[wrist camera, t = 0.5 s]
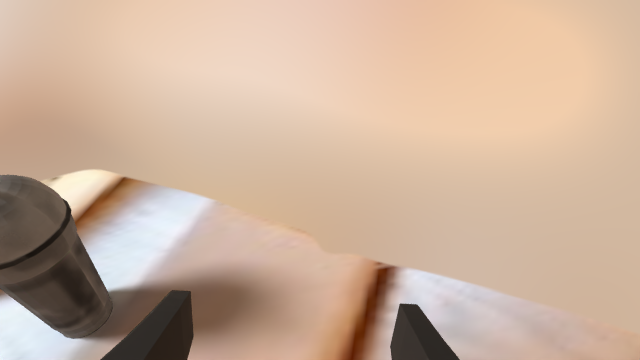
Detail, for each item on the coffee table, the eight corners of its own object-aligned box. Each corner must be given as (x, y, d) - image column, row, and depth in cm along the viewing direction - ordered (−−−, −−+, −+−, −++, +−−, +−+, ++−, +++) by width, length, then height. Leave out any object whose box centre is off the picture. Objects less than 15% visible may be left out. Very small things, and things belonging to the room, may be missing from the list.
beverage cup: (105, 267, 39) (-16, 87, 26) (143, 309, 35) (23, 122, 22) (28, 319, 35) (-162, 136, 22) (61, 372, 31) (-144, 190, 18)
